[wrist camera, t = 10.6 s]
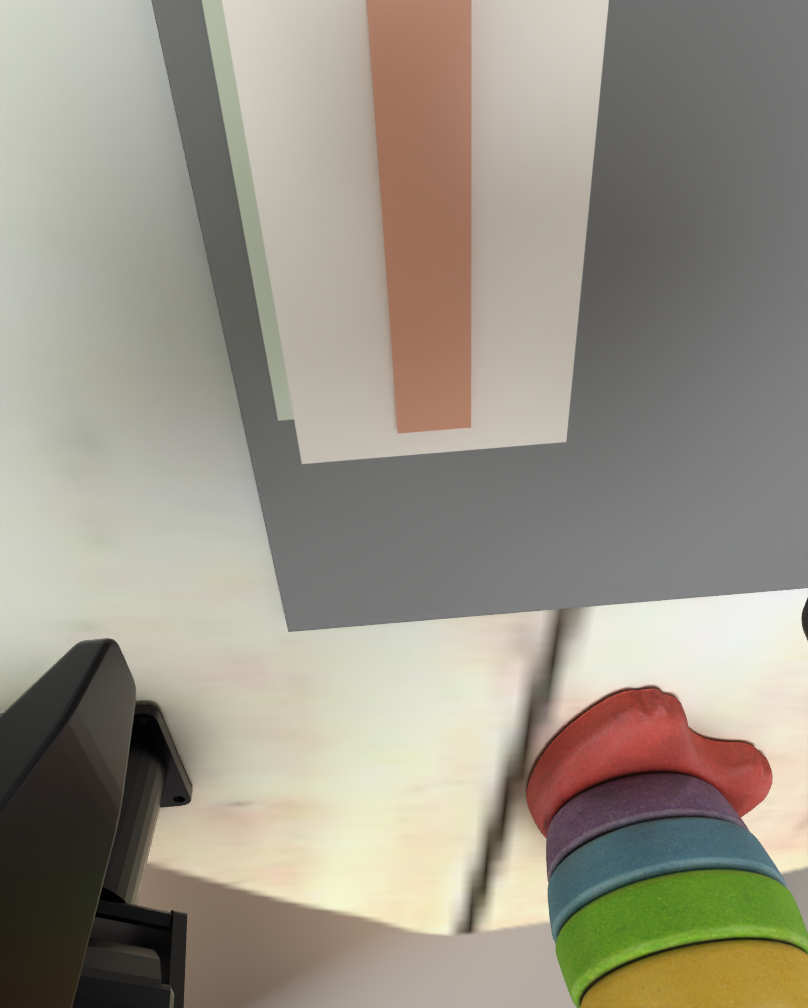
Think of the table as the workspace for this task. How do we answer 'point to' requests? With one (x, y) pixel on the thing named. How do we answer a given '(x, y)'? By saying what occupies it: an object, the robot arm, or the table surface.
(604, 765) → the stacking bear
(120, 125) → the table surface
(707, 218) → the mat
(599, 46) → the box
